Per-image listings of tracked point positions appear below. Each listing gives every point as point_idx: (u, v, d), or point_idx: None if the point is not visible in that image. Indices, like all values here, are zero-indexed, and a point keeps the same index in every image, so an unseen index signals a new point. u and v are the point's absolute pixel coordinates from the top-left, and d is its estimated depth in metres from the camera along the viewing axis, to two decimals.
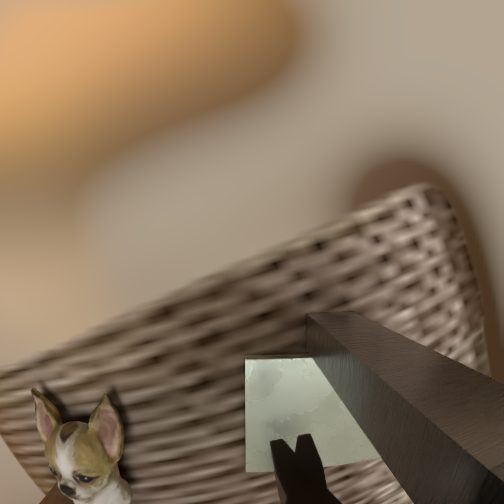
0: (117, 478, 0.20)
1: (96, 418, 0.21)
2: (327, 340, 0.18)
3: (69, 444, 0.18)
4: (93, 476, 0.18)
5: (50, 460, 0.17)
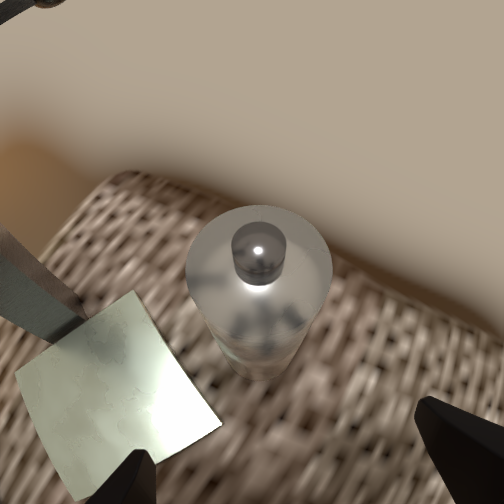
0: None
1: None
2: None
3: None
4: None
5: None
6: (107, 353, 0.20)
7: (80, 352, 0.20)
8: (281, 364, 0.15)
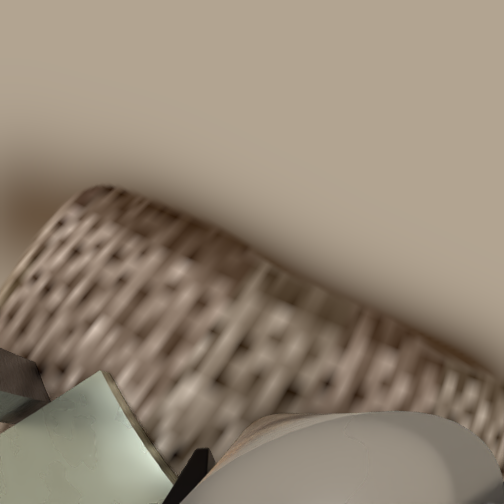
0: None
1: None
2: None
3: None
4: None
5: None
6: (74, 453, 0.11)
7: (42, 445, 0.11)
8: None
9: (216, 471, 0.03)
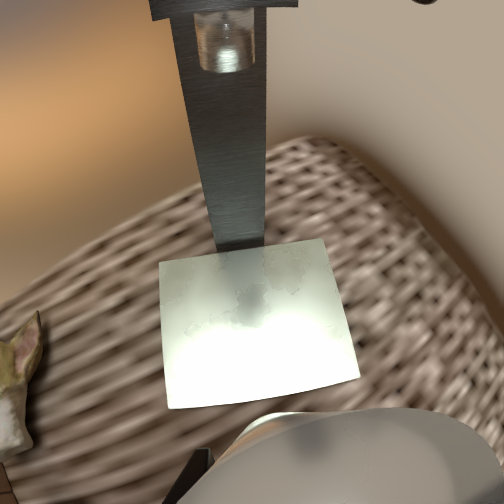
0: (15, 402, 0.16)
1: (20, 332, 0.20)
2: None
3: None
4: None
5: None
6: (281, 281, 0.24)
7: (252, 270, 0.24)
8: None
9: (215, 468, 0.03)
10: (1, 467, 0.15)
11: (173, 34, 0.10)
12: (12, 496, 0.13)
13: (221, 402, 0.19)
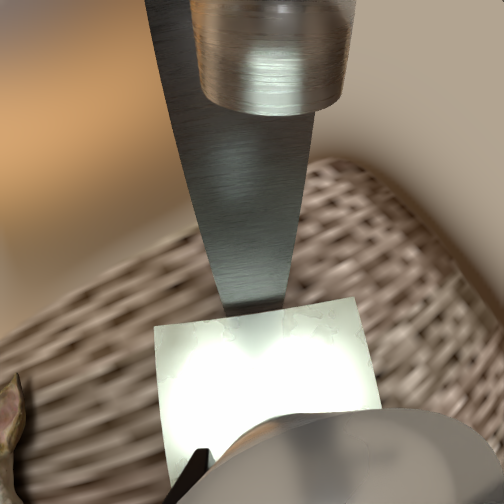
0: (0, 474, 0.11)
1: None
2: None
3: None
4: None
5: None
6: (305, 354, 0.19)
7: (269, 340, 0.19)
8: None
9: (215, 469, 0.03)
10: None
11: (150, 20, 0.05)
12: None
13: None
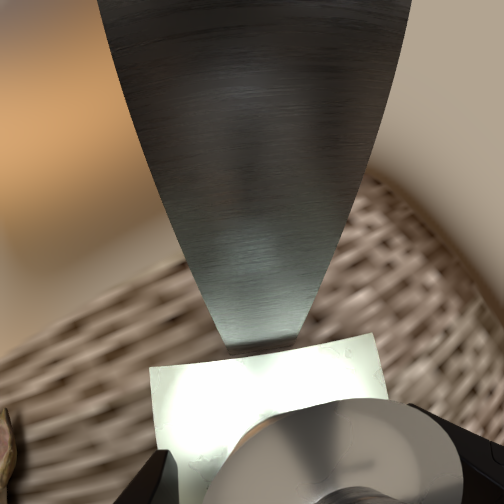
0: None
1: None
2: None
3: None
4: None
5: None
6: (318, 399, 0.16)
7: (278, 385, 0.16)
8: None
9: (248, 440, 0.04)
10: None
11: None
12: None
13: None
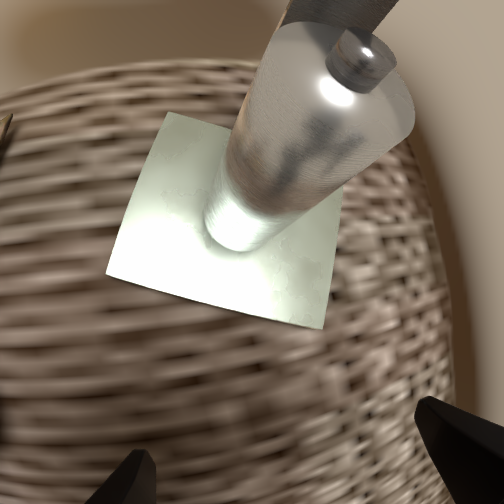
0: None
1: None
2: None
3: None
4: None
5: None
6: None
7: None
8: (277, 224, 0.13)
9: (313, 22, 0.07)
10: None
11: None
12: None
13: (167, 290, 0.17)
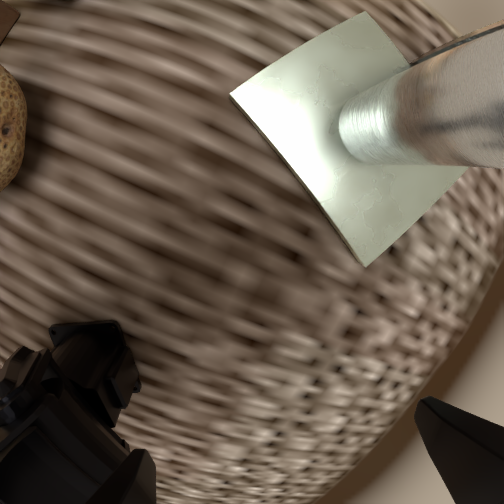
0: None
1: None
2: (476, 30, 0.10)
3: None
4: None
5: None
6: None
7: None
8: (407, 154, 0.12)
9: None
10: (14, 20, 0.13)
11: None
12: None
13: (273, 140, 0.17)
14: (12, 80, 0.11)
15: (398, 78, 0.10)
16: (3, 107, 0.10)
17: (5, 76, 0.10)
